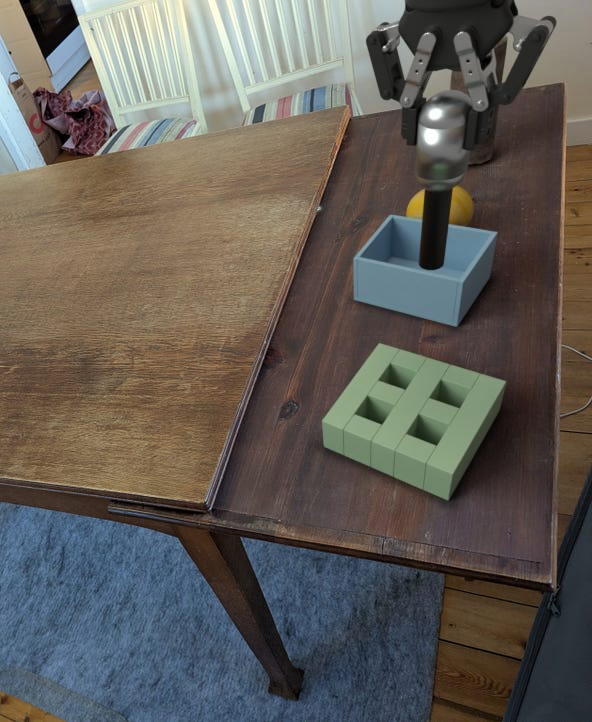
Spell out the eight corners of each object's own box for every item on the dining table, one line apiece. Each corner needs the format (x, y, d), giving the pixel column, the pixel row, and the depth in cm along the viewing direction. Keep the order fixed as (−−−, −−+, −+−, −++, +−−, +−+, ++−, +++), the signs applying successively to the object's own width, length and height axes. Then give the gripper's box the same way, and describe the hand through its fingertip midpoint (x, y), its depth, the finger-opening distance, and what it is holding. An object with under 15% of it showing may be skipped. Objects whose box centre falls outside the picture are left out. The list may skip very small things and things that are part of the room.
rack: (499, 410, 70) (506, 381, 67) (448, 501, 64) (453, 474, 61) (378, 370, 79) (379, 342, 75) (323, 446, 73) (321, 420, 70)
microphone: (461, 255, 64) (486, 81, 52) (444, 280, 62) (466, 105, 50) (418, 247, 67) (432, 80, 54) (401, 271, 65) (411, 103, 53)
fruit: (397, 245, 95) (400, 200, 89) (415, 216, 98) (418, 172, 93) (460, 254, 90) (466, 207, 84) (476, 223, 93) (483, 176, 88)
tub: (490, 277, 85) (498, 232, 80) (456, 327, 80) (463, 282, 75) (388, 256, 94) (390, 214, 89) (353, 300, 89) (353, 258, 84)
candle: (464, 175, 102) (479, 53, 89) (432, 161, 108) (442, 44, 95) (502, 157, 103) (523, 33, 90) (468, 144, 109) (483, 25, 95)
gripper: (600, -110, 41) (547, 129, 53) (388, -80, 50) (383, 119, 61) (564, -71, 38) (517, 174, 49) (345, -47, 47) (348, 157, 58)
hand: (443, 143), depth 55 cm, fingers closed on microphone, 4 cm apart
